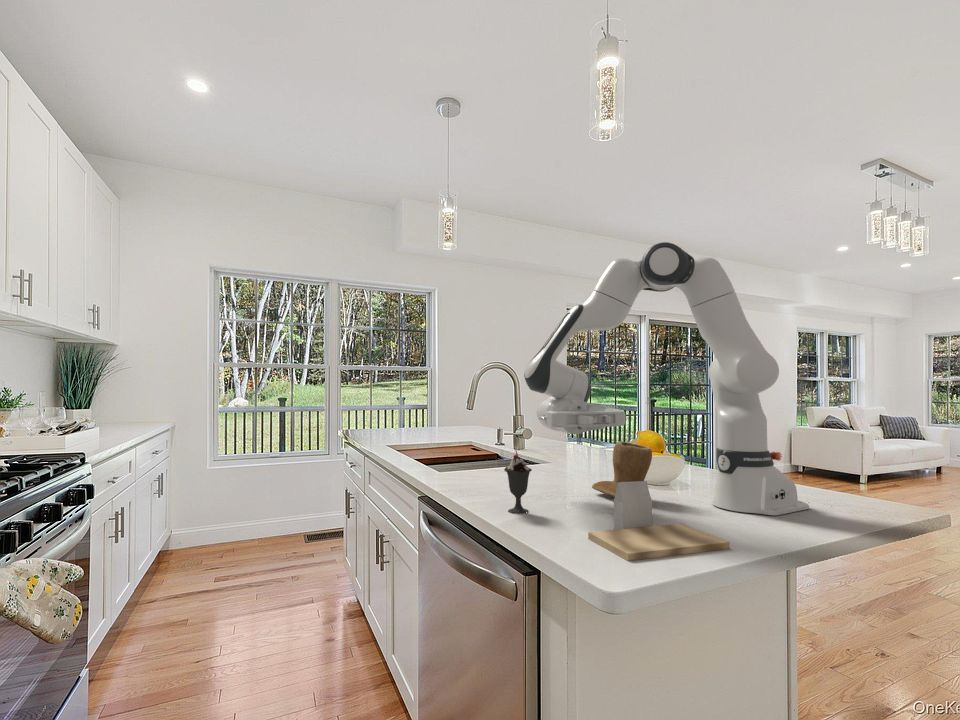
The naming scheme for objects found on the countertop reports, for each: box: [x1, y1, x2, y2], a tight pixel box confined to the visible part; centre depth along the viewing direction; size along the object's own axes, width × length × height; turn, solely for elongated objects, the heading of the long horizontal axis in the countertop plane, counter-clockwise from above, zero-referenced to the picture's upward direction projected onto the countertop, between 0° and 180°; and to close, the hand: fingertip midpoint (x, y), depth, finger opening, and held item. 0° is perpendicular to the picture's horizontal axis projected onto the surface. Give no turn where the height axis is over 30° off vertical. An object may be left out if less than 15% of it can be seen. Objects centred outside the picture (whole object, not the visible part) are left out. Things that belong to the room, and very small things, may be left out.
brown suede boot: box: [591, 440, 653, 498], centre depth 139 cm, size 15×12×15 cm
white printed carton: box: [613, 480, 653, 530], centre depth 109 cm, size 4×7×10 cm, turn 105°
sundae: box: [504, 447, 533, 514], centre depth 124 cm, size 7×7×15 cm
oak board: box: [587, 522, 731, 562], centre depth 99 cm, size 22×14×1 cm, turn 108°
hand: (601, 420), depth 121 cm, fingers open, 2 cm apart
